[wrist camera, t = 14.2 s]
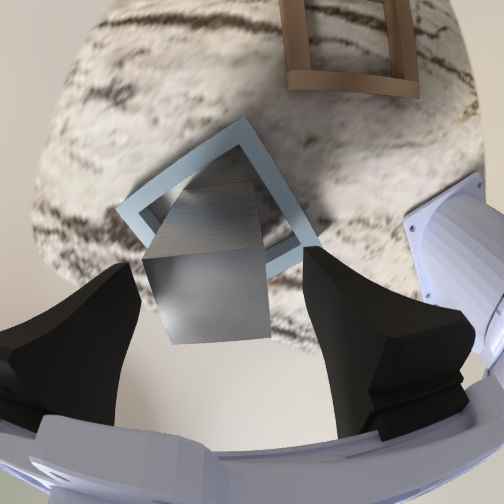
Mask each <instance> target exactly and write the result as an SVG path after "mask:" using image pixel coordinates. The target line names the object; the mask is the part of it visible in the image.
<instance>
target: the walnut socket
mask: <svg viewBox="0 0 504 504" xmlns="http://www.w3.org/2000/svg"><path fill="white" fill-rule="evenodd" d="M369 1H374V2H379V3H383V7H384V13H385V19H386V26H387V33H388V42H389V51H390V62H391V75H392V78H390V77H383V76H376V75H368V74H358V73H347V72H333V71H311V61H310V50H309V40H308V31H307V22H306V14H305V6H304V0H279V5H280V14H281V23H282V32H283V42H284V53H285V64H286V76H287V89H288V91H338V92H355V93H367V94H377V95H386V96H394V97H401V98H411V99H419V79H418V65H417V54H416V44H415V36H414V29H413V23H412V16H411V11H410V5H409V0H369Z"/></svg>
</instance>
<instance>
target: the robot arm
mask: <svg viewBox="0 0 504 504" xmlns="http://www.w3.org/2000/svg"><path fill="white" fill-rule="evenodd" d="M477 185H478V186H477ZM403 225H404V229H405V232H406V235H407V239H408V242H409V246H410V249H411V253H412V257H413V260H414V264H415V268H416V272H417V277H418V281H419V285H420V290H421V295H422V300H423V302H421V301H417V300H414V299H411V298H408V297H406V296H403V295H401V294H398V293H396V292H393V291H391V290H389V289H386V288H384V287H382V286H380V285H378V284H376V283H374V282H372V281H370V280H369V279H367V278H365V277H364V276H362V275H360V274H359V273H357V272H355V271H354V270H352V269H351V268H349V267H348V266H346V265H345V264H343V263H342V262H341V261H339V260H338V259H336V258H335V257H334V256H332V255H331V254H330V253H328V252H327V251H325V250H324V249H323V248H321V247H320V246H308V247H303V294H304V298H305V303H306V308H307V311H308V314H309V317H310V319H311V322H312V325H313V328H314V331H315V333H316V336H317V339H318V342H319V345H320V347H321V350H322V353H323V357H324V360H325V364H326V369H327V373H328V379H329V384H330V389H331V394H332V399H333V406H334V412H335V418H336V426H337V434H338V440H332V441H327V442H322V443H316V444H309V445H303V446H296V447H287V448H278V449H268V450H254V451H231V452H230V451H228V452H212V451H211V450H209V449H208V448H207V447H205V446H204V445H203V444H201V443H198V442H196V441H193V440H190V439H187V438H184V437H181V436H177V435H171V434H165V433H159V432H154V431H144V430H136V429H127V428H120V427H114V421H115V406H116V398H117V390H118V384H119V379H120V373H121V368H122V365H123V361H124V359H125V356H126V353H127V350H128V347H129V344H130V341H131V338H132V336H133V333H134V330H135V327H136V324H137V321H138V317H139V313H140V307H141V302H142V301H141V298H140V295H139V292H138V289H137V286H136V284H135V281H134V278H133V275H132V272H131V268H130V265H129V262H128V263H117V264H114V265H113V266H111V267H109V268H108V269H106V270H105V271H103V272H102V273H100V274H99V275H98V276H96V277H95V278H94V279H92V280H91V281H90V282H88V283H87V284H86V285H84V286H83V287H82V288H80V289H79V290H77V291H76V292H75V293H73V294H72V295H70V296H69V297H68V298H66V299H65V300H63V301H62V302H60V303H59V304H57V305H56V306H54V307H52V308H50V309H49V310H48V311H45V312H44V313H42V314H40V315H38V316H36V317H34V318H32V319H30V320H28V321H26V322H24V323H21V324H19V325H17V326H14V327H11V328H9V329H6V330H3V331H0V468H1V469H3V470H4V471H6V472H8V473H9V474H11V475H13V476H15V477H17V478H18V479H20V480H22V481H24V482H25V483H27V484H29V485H31V486H33V487H35V488H37V489H39V490H41V491H43V492H45V493H47V494H49V495H50V496H49V501H48V504H403V503H405V502H408V501H410V500H412V499H415V498H417V497H419V496H421V495H424V494H426V493H428V492H430V491H432V490H434V489H436V488H439V487H440V486H442V485H444V484H446V483H448V482H450V481H452V480H454V479H456V478H458V477H459V476H461V475H463V474H464V473H466V472H468V471H470V470H471V469H473V468H475V467H476V466H478V465H480V464H481V463H483V462H484V461H486V460H487V459H488V458H490V457H491V456H492V455H493V454H495V453H496V452H497V451H499V450H500V449H501V448H502V447H503V446H504V215H503V214H502V213H500V212H498V211H497V210H495V209H494V208H492V207H491V206H489V205H487V204H486V200H485V193H484V186H483V180H482V175H481V174H480V173H478V172H474V173H473V174H471V175H470V176H468V177H467V178H465V179H464V180H462V181H461V182H459V183H457V184H456V185H454V186H453V187H451V188H450V189H448V190H446V191H445V192H443V193H442V194H440V195H438V196H437V197H435V198H434V199H432V200H430V201H429V202H427V203H426V204H424V205H422V206H421V207H419V208H417V209H416V210H414V211H412V212H411V213H409V214H407V215H406V216H405V217H404V219H403ZM412 225H413V228H412V229H410V227H411V226H412ZM435 303H436V304H437V306H435V305H433V304H435ZM471 350H472V351H473V352H475V353H477V354H480V358H481V359H482V361H483V362H484V364H485V366H486V367H487V368H486V369H485V371H484V374H483V378H482V380H480V381H478V382H476V383H474V384H472V385H471V386H469V387H468V388H467V389H466V390H465V391H464V389H463V388H462V386H461V384H460V383H462V382H463V380H464V377H463V376H462V374H461V372H460V369H461V367H462V366H463V364H464V362H465V360H466V359H467V357H468V356H469V354H470V352H471Z"/></svg>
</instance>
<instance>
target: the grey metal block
mask: <svg viewBox="0 0 504 504" xmlns="http://www.w3.org/2000/svg"><path fill="white" fill-rule="evenodd" d="M142 262H143V265H144V268H145V271H146V274H147V277H148V280H149V283H150V286H151V289H152V292H153V295H154V298H155V301H156V304H157V307H158V309H159V312H160V315H161V318H162V320H163V323H164V326H165V328H166V331H167V334H168V336H169V339H170V341H171V344H196V343H212V342H227V341H238V340H250V339H260V338H270V337H271V326H270V313H269V300H268V288H267V275H266V263H265V251H264V243H263V237H262V232H261V226H260V221H259V215H258V210H257V204H256V199H255V193H254V188H253V182H252V181H247V182H238V183H229V184H220V185H212V186H205V187H197V188H190V189H183V190H182V192H181V193H180V195H179V197H178V198H177V200H176V201H175V203H174V205H173V206H172V208H171V209H170V211H169V213H168V214H167V216H166V218H165V219H164V221H163V223H162V225H161V226H160V228H159V230H158V231H157V233H156V235H155V237H154V238H153V240H152V242H151V244H150V245H149V247H148V249H147V251H146V253H145V254H144V256H143V258H142Z"/></svg>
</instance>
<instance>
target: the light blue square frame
mask: <svg viewBox="0 0 504 504" xmlns="http://www.w3.org/2000/svg"><path fill="white" fill-rule="evenodd" d="M238 144H239V145H240V146H241V148H242V149H243V151H244V153H245V154H246V156H247V157H248V159H249V160H250V162H251V163H252V165H253V166H254V168H255V170H256V171H257V173H258V174H259V176H260V177H261V179H262V181H263V182H264V184H265V185H266V187H267V189H268V190H269V192H270V193H271V195H272V197H273V198H274V200H275V201H276V203H277V205H278V206H279V208H280V210H281V211H282V213H283V215H284V216H285V218H286V219H287V221H288V223H289V224H290V226H291V228H292V229H293V231H294V233H295V234H294V235H293V236H291V237H289V238H287V239H285V240H284V241H282V242H280V243H278V244H276V245H275V246H273V247H271V248H269V249H267V250H266V251H265V263H266V275H267V279H269V278H271V277H273V276H275V275H277V274H279V273H281V272H282V271H284V270H286V269H288V268H290V267H292V266H294V265H295V264H297V263H299V262H301V261H303V247H308V246H320V247H321V248H323V247H322V245H321V243H320V241H319V239H318V238H317V236H316V234H315V232H314V230H313V228H312V227H311V225H310V223H309V221H308V219H307V218H306V216H305V214H304V212H303V210H302V209H301V207H300V205H299V203H298V202H297V200H296V198H295V197H294V195H293V193H292V191H291V190H290V188H289V186H288V185H287V183H286V181H285V179H284V178H283V176H282V174H281V173H280V171H279V169H278V168H277V166H276V164H275V163H274V161H273V160H272V158H271V156H270V155H269V153H268V151H267V150H266V148H265V147H264V145H263V143H262V142H261V140H260V139H259V137H258V135H257V134H256V132H255V131H254V129H253V128H252V126H251V125H250V123H249V122H248V120H247V118H246V117H245V116H244V117H243V118H241V119H239V120H238V121H236V122H234V123H233V124H231V125H230V126H228V127H226V128H225V129H223V130H222V131H220V132H218V133H217V134H215V135H214V136H212V137H211V138H209V139H207V140H206V141H204V142H203V143H201V144H200V145H198V146H197V147H195V148H194V149H193V150H191V151H190V152H188V153H187V154H185V155H184V156H182V157H181V158H180V159H178V160H177V161H175V162H174V163H172V164H171V165H170V166H168V167H167V168H166V169H164V170H163V171H161V172H160V173H159V174H157V175H156V176H155V177H153V178H152V179H151V180H150V181H148V182H147V183H146V184H144V185H143V186H142V187H140V188H139V189H138V190H137V191H135V192H134V193H133V194H132V195H130V196H129V197H128V198H127V199H125V200H124V201H123V202H122V203H121V204H120V205H119V206H118V207H117V208H116V210H117V212H118V213H119V214H120V216H121V217H122V218H123V219H124V221H125V222H126V223H127V224H128V226H129V227H130V228H131V229H132V231H133V232H134V233H135V234H136V236H137V237H138V238H139V239H140V240H141V242H142V243H143V244H144V245H145V246H146V248H147V249H148V247H149V245H150V244H151V242H152V240H153V238H154V237H155V235H156V233H157V231H158V230H159V228H160V226H161V225H162V224H161V223H160V222H159V220H158V219H157V218H156V217H155V215H154V214H153V213H152V211H151V210H150V209H149V207H148V205H149V204H151V203H152V202H153V201H155V200H156V199H158V198H159V197H160V196H162V195H163V194H164V193H166V192H167V191H169V190H170V189H171V188H173V187H174V186H176V185H177V184H179V183H180V182H181V181H183V180H184V179H186V178H187V177H189V176H190V175H192V174H193V173H195V172H196V171H198V170H199V169H201V168H202V167H204V166H205V165H207V164H208V163H210V162H211V161H213V160H214V159H216V158H217V157H219V156H221V155H222V154H224V153H225V152H227V151H229V150H230V149H232V148H233V147H235V146H237V145H238Z"/></svg>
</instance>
